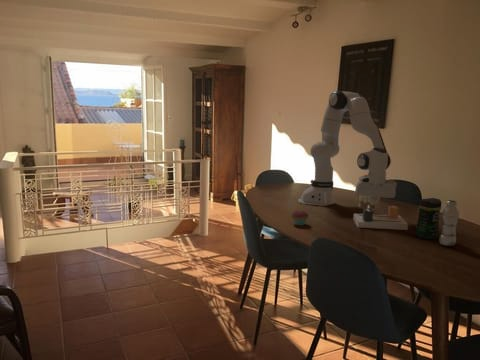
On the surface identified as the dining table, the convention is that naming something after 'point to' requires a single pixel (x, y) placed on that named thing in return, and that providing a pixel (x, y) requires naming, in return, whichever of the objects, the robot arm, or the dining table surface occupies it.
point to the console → (381, 222)
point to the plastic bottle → (449, 224)
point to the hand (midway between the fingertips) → (373, 204)
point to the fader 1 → (367, 214)
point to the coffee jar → (428, 218)
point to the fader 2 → (393, 211)
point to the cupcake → (300, 217)
